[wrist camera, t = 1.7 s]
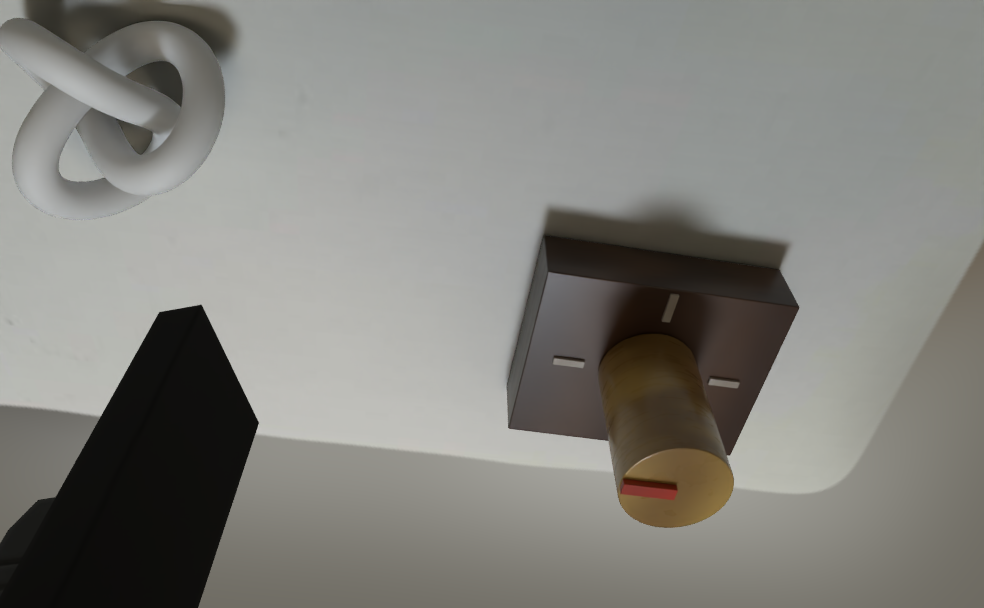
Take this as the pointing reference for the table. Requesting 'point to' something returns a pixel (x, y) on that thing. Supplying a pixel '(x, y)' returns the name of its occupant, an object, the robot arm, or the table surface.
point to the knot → (112, 115)
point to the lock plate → (641, 330)
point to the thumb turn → (662, 433)
